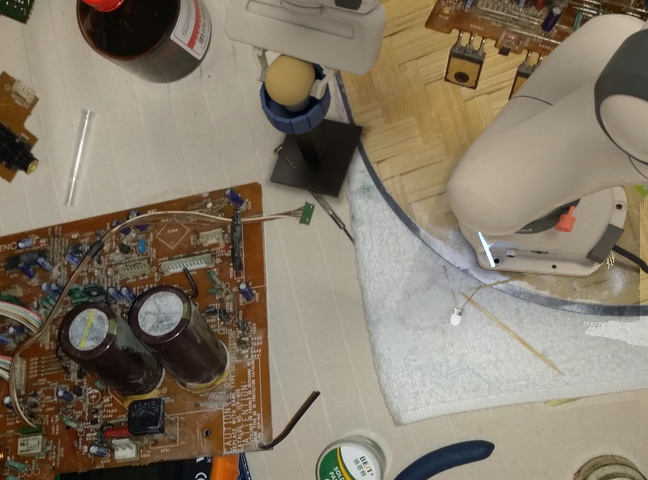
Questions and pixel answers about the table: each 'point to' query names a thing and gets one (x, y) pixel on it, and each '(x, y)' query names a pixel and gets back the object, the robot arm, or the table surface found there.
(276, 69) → the light bulb
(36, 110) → the table surface
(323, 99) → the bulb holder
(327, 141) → the stand
